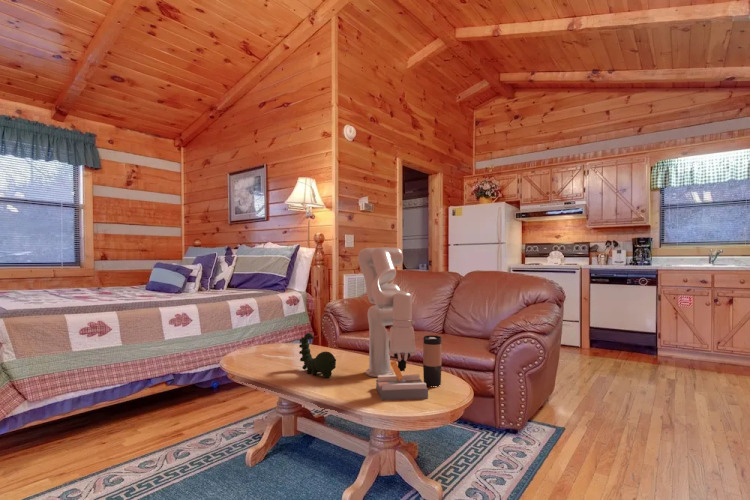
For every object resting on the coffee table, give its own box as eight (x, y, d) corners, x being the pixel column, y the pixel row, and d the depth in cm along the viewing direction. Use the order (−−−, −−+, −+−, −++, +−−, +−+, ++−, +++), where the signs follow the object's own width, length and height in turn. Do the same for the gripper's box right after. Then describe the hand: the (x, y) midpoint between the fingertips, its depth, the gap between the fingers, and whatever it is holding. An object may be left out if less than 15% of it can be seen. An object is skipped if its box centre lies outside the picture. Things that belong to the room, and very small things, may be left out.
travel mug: (439, 381, 173) (439, 335, 173) (443, 387, 165) (443, 338, 165) (421, 381, 172) (422, 335, 173) (424, 387, 165) (424, 338, 165)
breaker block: (376, 388, 164) (376, 375, 164) (419, 386, 166) (419, 373, 166) (381, 400, 150) (381, 386, 150) (428, 398, 152) (428, 384, 152)
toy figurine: (295, 374, 187) (328, 381, 170) (293, 333, 189) (326, 336, 171) (311, 370, 194) (345, 377, 176) (310, 331, 195) (343, 333, 178)
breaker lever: (398, 382, 160) (389, 362, 160) (404, 380, 160) (394, 359, 160) (400, 386, 156) (391, 365, 155) (406, 383, 156) (396, 362, 156)
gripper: (418, 322, 163) (418, 367, 163) (382, 322, 161) (381, 368, 161) (422, 325, 156) (422, 372, 155) (385, 325, 154) (384, 373, 153)
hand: (401, 370), depth 158 cm, fingers closed
